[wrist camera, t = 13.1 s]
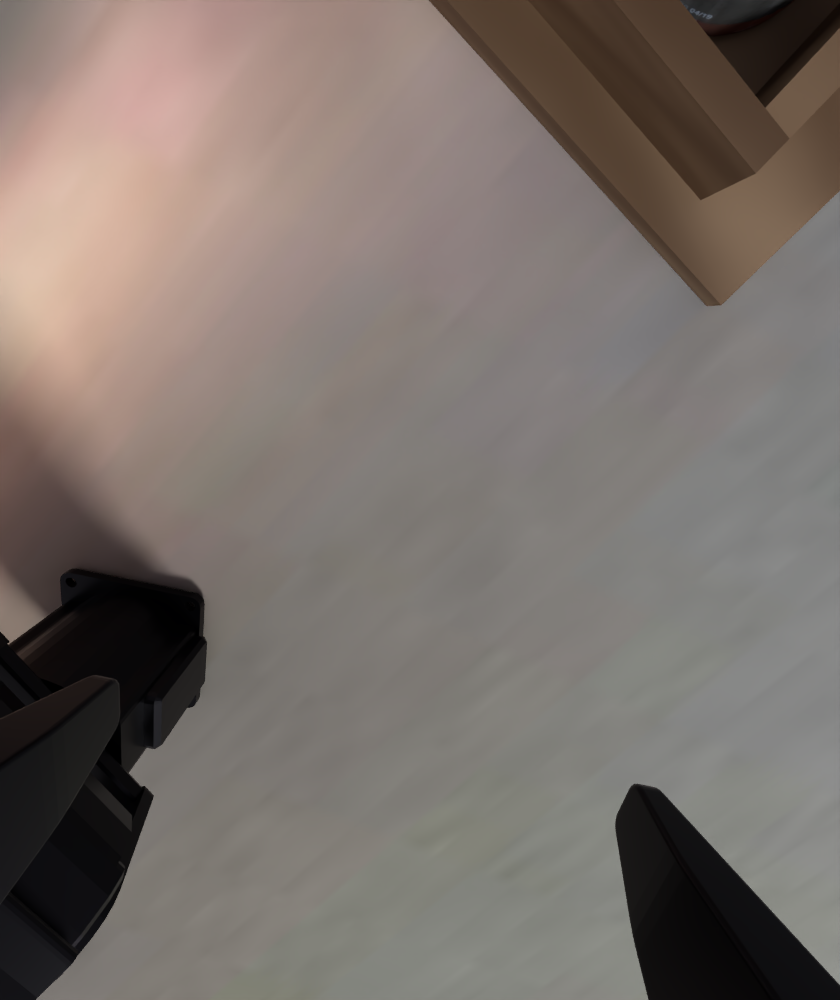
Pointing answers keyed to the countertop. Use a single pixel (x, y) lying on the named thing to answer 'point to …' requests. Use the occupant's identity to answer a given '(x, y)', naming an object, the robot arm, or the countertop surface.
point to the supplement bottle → (732, 14)
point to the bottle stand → (680, 117)
